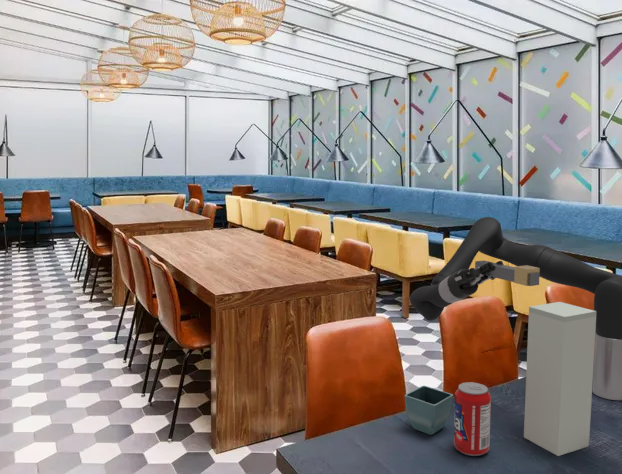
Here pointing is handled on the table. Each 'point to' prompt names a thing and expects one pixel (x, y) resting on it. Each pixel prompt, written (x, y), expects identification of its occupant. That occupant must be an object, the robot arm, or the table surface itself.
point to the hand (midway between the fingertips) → (496, 265)
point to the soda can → (472, 419)
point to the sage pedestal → (559, 376)
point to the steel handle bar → (513, 273)
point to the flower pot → (428, 409)
